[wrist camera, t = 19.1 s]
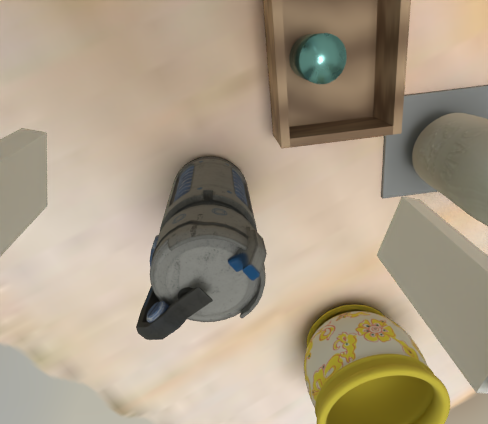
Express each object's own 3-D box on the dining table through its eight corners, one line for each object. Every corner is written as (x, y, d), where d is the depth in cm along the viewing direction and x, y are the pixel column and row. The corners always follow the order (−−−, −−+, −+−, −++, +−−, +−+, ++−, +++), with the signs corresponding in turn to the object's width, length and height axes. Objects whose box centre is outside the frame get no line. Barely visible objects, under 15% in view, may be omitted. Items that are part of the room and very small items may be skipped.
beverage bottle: (145, 195, 52) (90, 315, 29) (219, 135, 49) (222, 216, 26) (194, 244, 55) (179, 385, 33) (265, 190, 53) (303, 303, 30)
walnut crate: (259, -46, 41) (267, -62, 35) (385, -60, 41) (416, -79, 35) (273, 134, 49) (281, 148, 43) (377, 121, 50) (401, 133, 43)
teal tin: (288, 36, 44) (298, 36, 38) (330, 31, 44) (346, 30, 38) (290, 81, 46) (300, 87, 40) (330, 76, 46) (346, 81, 40)
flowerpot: (325, 385, 70) (355, 478, 55) (274, 325, 63) (293, 413, 48) (413, 340, 67) (470, 426, 52) (369, 271, 60) (420, 348, 45)
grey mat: (386, 97, 48) (388, 98, 48) (492, 84, 49) (495, 85, 48) (381, 196, 54) (382, 198, 54) (475, 184, 55) (478, 186, 54)
